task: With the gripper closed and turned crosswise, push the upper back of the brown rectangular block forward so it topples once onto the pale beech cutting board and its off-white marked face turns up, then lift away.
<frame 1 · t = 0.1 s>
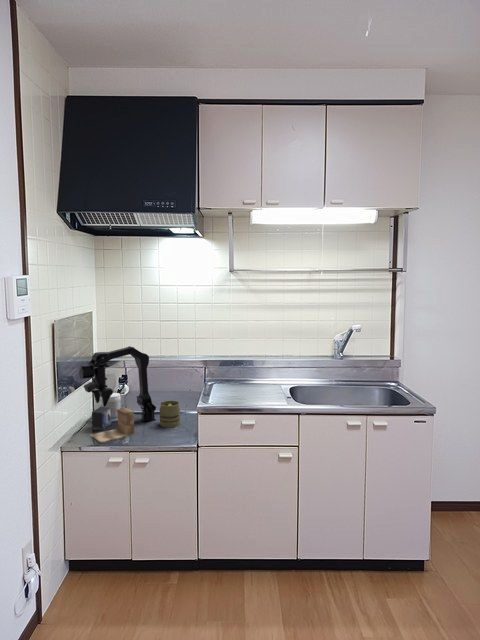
hand: (101, 404, 254), 15 cm above the countertop, tool pointing down, fingers open, 9 cm apart
cutting board: (108, 436, 247), on the countertop
small box: (102, 428, 261), on the countertop
piston: (170, 424, 266), on the countertop
supplement tub: (112, 419, 275), on the countertop
brown rectangular block: (126, 432, 254), on the countertop
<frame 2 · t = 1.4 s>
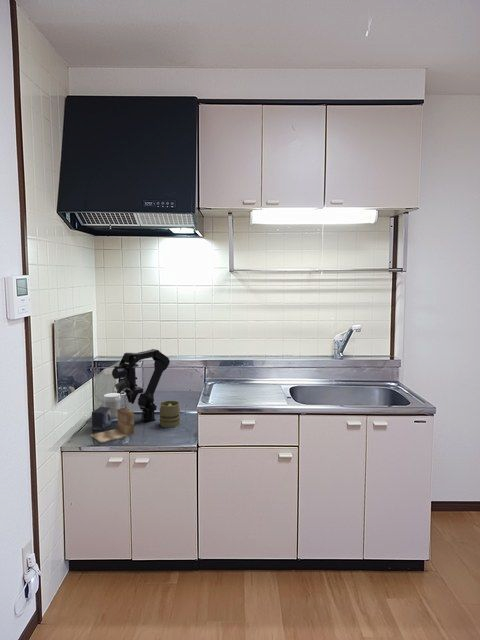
hand: (131, 403, 262), 13 cm above the countertop, tool pointing down, fingers open, 3 cm apart
nothing on the countertop moved.
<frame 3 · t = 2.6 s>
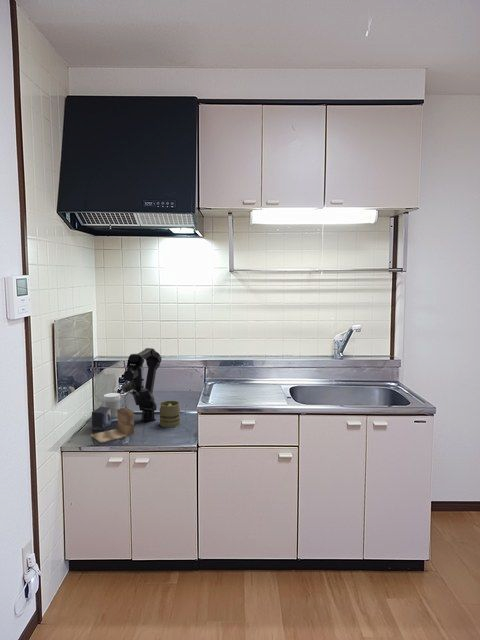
hand: (137, 405, 258), 13 cm above the countertop, tool pointing down, fingers closed
nothing on the countertop moved.
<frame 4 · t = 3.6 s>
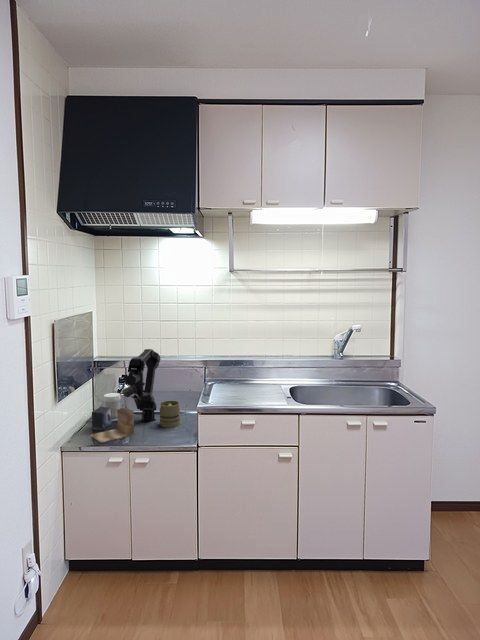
hand: (138, 409, 257), 11 cm above the countertop, tool pointing down, fingers closed
nothing on the countertop moved.
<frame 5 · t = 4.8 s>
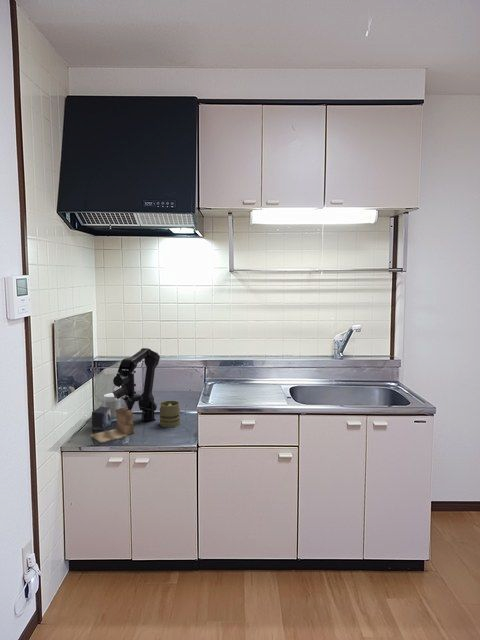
hand: (129, 410, 254), 11 cm above the countertop, tool pointing down, fingers closed
nothing on the countertop moved.
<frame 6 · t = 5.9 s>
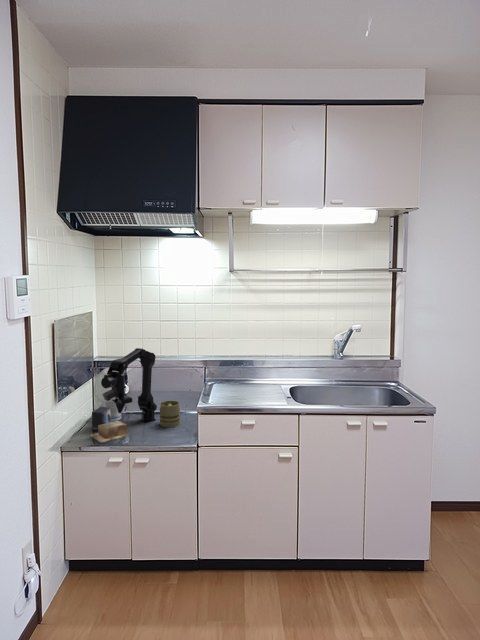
hand: (119, 413, 250), 11 cm above the countertop, tool pointing down, fingers closed
brown rectangular block: (123, 427, 252), point 3 cm above the countertop, tilted 90°, touching cutting board
everything else where it was.
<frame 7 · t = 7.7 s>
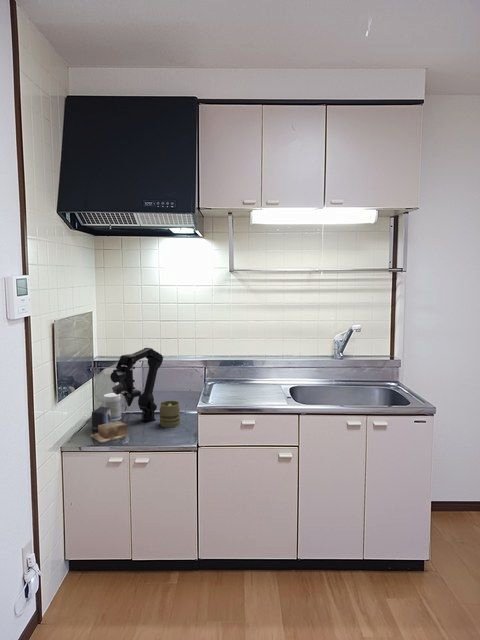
hand: (129, 406, 258), 13 cm above the countertop, tool pointing down, fingers closed
nothing on the countertop moved.
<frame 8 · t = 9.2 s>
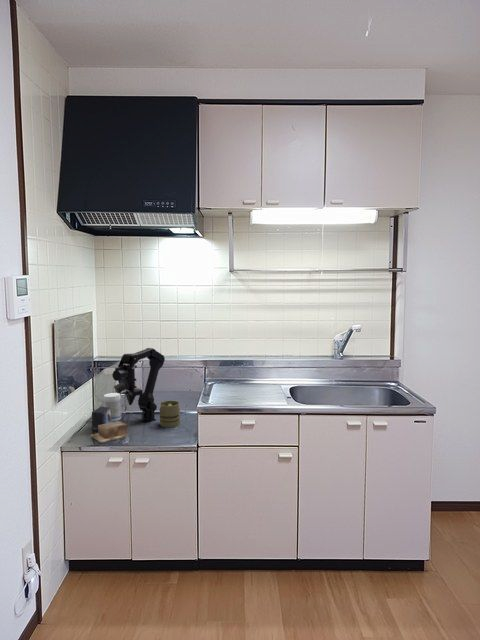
hand: (130, 405, 259), 13 cm above the countertop, tool pointing down, fingers closed
nothing on the countertop moved.
at the end: brown rectangular block tilted 90°; brown rectangular block touching cutting board; brown rectangular block inside the target area (2.9 cm from its centre), point 3.1 cm above the countertop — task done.
